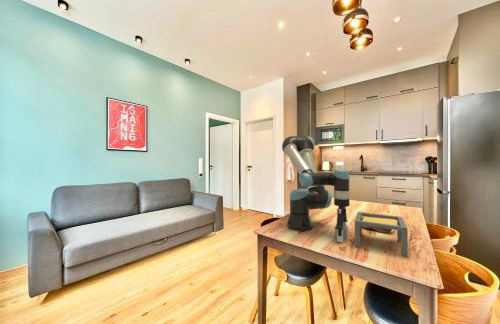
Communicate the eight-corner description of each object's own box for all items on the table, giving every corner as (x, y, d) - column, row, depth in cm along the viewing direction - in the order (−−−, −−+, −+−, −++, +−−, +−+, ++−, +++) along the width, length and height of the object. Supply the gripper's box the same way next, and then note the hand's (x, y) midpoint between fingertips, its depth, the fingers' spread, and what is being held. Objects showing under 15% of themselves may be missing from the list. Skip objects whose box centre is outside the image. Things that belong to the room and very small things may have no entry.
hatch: (362, 225, 95) (362, 223, 95) (363, 218, 107) (363, 216, 107) (398, 229, 88) (398, 227, 88) (395, 221, 100) (395, 219, 100)
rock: (355, 210, 126) (379, 207, 124) (357, 227, 127) (382, 224, 125) (366, 219, 111) (394, 215, 109) (369, 238, 111) (397, 234, 109)
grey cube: (334, 238, 105) (334, 227, 105) (336, 234, 110) (336, 224, 110) (347, 240, 102) (347, 229, 102) (348, 237, 107) (348, 226, 107)
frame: (354, 246, 95) (354, 220, 95) (357, 233, 111) (357, 211, 111) (407, 257, 84) (407, 228, 84) (402, 241, 101) (402, 216, 101)
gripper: (346, 203, 93) (346, 247, 93) (351, 195, 114) (352, 231, 114) (329, 201, 97) (330, 244, 97) (337, 194, 118) (338, 229, 118)
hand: (342, 237), depth 106 cm, fingers open, 13 cm apart
